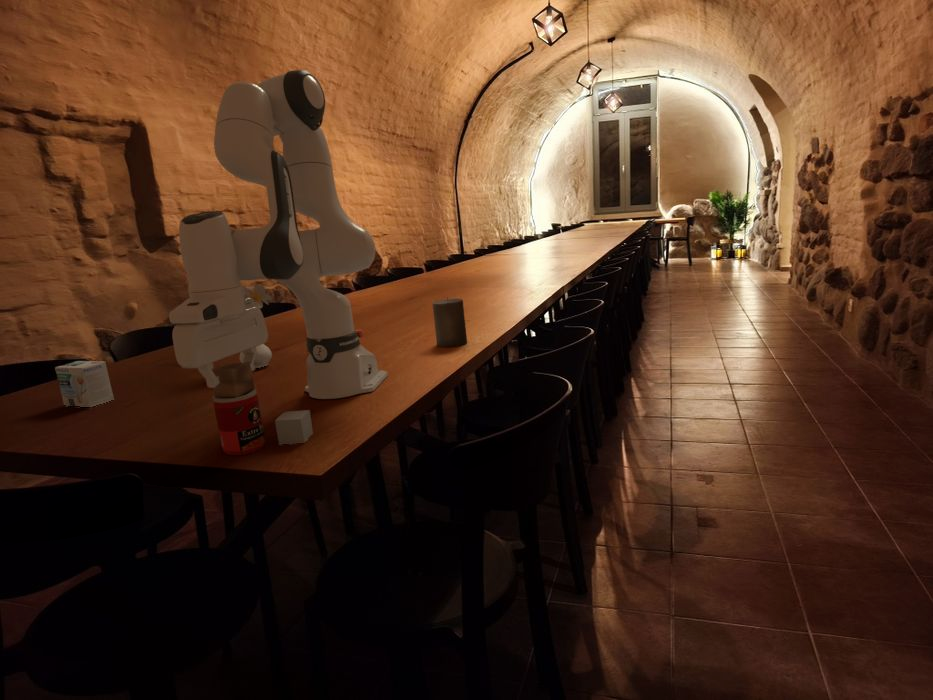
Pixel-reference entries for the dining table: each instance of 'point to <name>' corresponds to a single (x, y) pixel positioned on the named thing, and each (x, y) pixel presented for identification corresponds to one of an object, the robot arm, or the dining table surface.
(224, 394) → the walnut block
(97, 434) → the dining table surface
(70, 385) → the light bulb box
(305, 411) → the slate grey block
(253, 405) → the canned food
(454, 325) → the pillar candle
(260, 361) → the flower vase
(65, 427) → the dining table surface
